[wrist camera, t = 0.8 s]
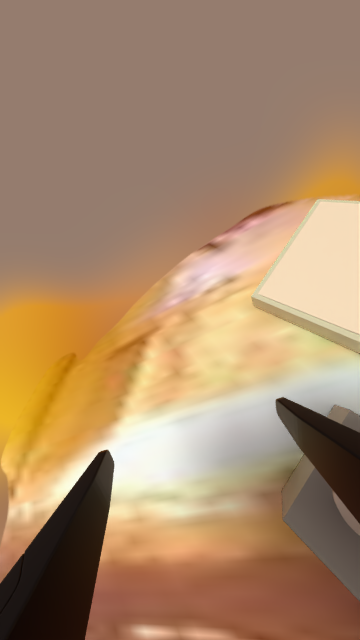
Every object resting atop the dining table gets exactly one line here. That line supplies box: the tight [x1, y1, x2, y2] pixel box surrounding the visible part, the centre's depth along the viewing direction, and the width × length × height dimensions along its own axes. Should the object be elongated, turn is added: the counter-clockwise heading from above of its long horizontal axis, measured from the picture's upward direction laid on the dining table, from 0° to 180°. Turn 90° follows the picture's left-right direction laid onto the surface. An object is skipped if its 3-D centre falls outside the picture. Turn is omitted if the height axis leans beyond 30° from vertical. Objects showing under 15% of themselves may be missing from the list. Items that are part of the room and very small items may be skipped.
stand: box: [251, 199, 360, 354], centre depth 16 cm, size 13×13×3 cm
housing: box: [281, 405, 360, 601], centre depth 12 cm, size 5×9×5 cm, turn 143°
